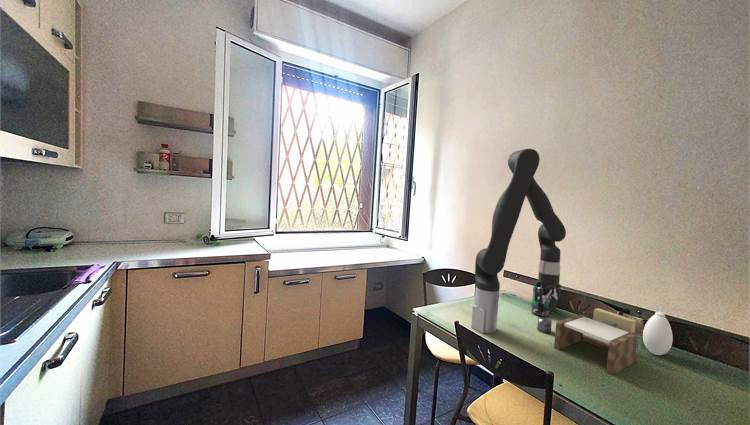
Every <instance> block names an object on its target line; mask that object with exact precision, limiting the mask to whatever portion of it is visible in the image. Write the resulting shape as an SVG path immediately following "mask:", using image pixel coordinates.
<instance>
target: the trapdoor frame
mask: <svg viewBox="0 0 750 425" xmlns="http://www.w3.org/2000/svg"><path fill="white" fill-rule="evenodd" d="M582 317H586V315H585V314H581V313H580V314H577V315H573V316H569V317H567V318H564V319H561V320H557V321H556V322H555V333H554V343H553V344H554V346H553V348H554V349H556V350H558V351H559V350H561V349H565V348H567V347H570V346H571V345H573V344H574V345H575V344H576V343H578V342H586V343H588V344H590V345H593V346H595V347H598V348H600V349H602V350H605V351H607V362H606V370H605V371H606V372H605V373H607V374H608V375H610V376H613V375H615V374H617V373H619V372H620V371H622V370H624V369H625V368H628V367H629V366H630V365H633V364H635V363H636V362H638V358H639V356H638V355H637V346H638V338H639V334H638V333H637V332H635V333H633V332H632V333H630V334H627V335H625V336H623V337H621V338H619V339H616V340H614V341H612V342H610V343H609V344H608V343H606V342H603V341H601V340H598V339H596V338H593V337H591V336H588V335H586V334H583V333H581V332H578V331H576V330H573V329H571V328H568V327H566V326H564V323H566V322H569V321H573V320H576V319H579V318H582Z"/></svg>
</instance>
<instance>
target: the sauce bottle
mask: <svg viewBox="0 0 750 425" xmlns="http://www.w3.org/2000/svg"><path fill="white" fill-rule="evenodd" d="M642 340H643V341H642V342H643V344H644V346H645V347H646V349H647V350H648V351H649V353H651V354H653V355H655V356H662V355H665V354H667V353H668V352H669V351H670V349H671V347H672V345H673V340H674V337H673V331H672V327H671V325H670V322H669V320H668V319H667V317H666V314H665V313H663V312H662V306H660V307H659V311H656V312H654V314H653V315H652V316H651V317H650V318H648V320H647V321H646V323H645V325H644V327H643V332H642Z"/></svg>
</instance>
